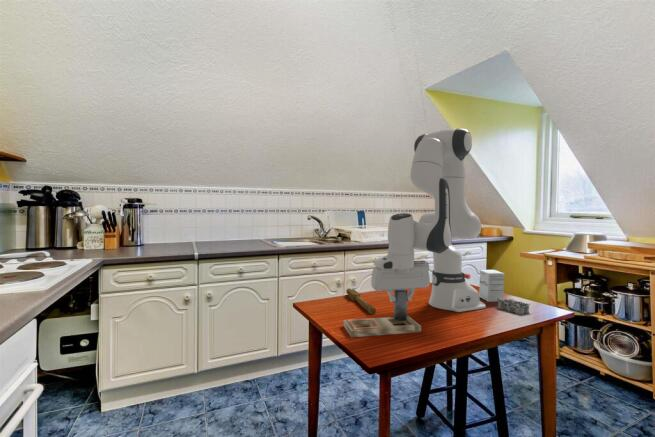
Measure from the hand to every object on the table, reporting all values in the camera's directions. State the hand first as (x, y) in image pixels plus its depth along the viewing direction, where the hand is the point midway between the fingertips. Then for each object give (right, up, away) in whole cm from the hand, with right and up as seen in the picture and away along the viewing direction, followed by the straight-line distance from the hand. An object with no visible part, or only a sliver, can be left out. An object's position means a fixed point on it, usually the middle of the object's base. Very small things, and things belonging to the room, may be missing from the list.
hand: (400, 301), depth 116 cm
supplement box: (+47, -8, +34) cm, 59 cm away
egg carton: (+50, -9, +20) cm, 54 cm away
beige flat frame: (-7, -9, -1) cm, 11 cm away
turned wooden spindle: (-12, -8, +28) cm, 32 cm away
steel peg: (0, -6, 0) cm, 6 cm away
